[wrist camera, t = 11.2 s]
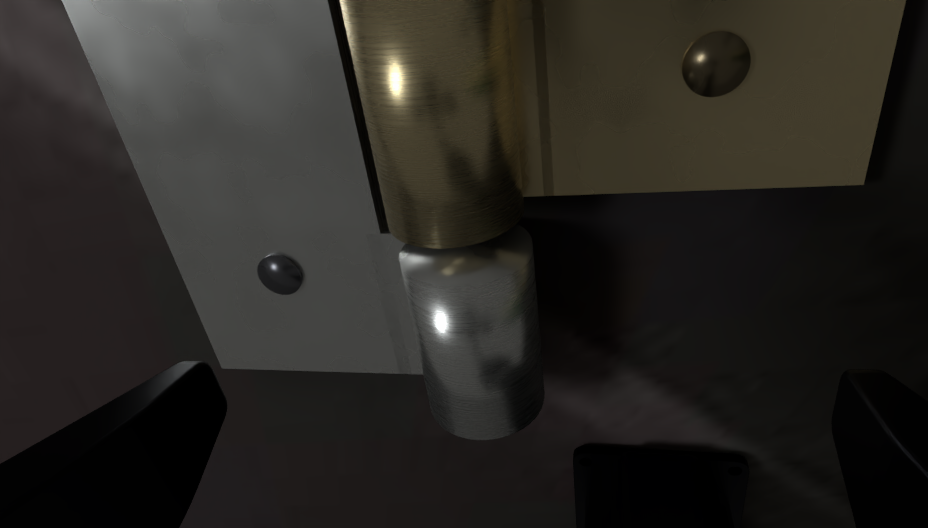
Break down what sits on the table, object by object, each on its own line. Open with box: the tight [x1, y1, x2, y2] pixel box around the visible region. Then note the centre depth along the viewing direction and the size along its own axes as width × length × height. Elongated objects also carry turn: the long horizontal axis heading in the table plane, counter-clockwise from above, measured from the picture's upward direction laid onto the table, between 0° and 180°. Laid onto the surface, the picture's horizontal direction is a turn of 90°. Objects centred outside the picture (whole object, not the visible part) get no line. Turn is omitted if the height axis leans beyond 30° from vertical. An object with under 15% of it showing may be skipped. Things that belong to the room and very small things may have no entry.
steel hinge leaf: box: [62, 0, 545, 440], centre depth 17 cm, size 21×13×4 cm, turn 7°
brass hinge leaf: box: [339, 0, 906, 249], centre depth 15 cm, size 7×13×4 cm, turn 97°
